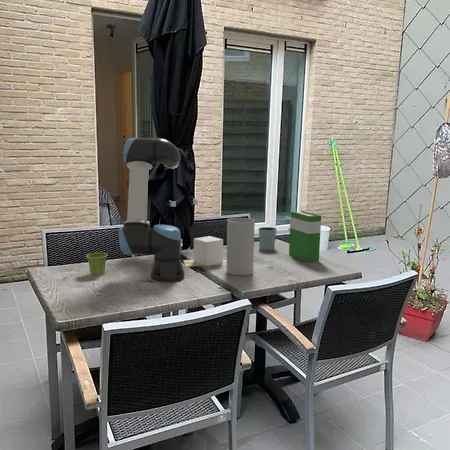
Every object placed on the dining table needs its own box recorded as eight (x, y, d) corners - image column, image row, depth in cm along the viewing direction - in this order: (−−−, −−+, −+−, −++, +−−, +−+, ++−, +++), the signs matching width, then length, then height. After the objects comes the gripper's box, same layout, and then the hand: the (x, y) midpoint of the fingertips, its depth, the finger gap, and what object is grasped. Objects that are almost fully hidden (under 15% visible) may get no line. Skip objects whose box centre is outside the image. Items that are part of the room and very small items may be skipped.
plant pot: (102, 277, 202) (101, 258, 200) (83, 275, 203) (82, 256, 202) (111, 271, 211) (111, 253, 209) (93, 270, 212) (92, 252, 211)
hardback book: (289, 254, 248) (290, 211, 244) (300, 253, 251) (302, 210, 247) (306, 262, 233) (309, 216, 228) (318, 261, 235) (321, 215, 231)
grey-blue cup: (257, 250, 258) (257, 229, 256) (258, 246, 268) (259, 226, 265) (275, 251, 256) (275, 230, 254) (276, 247, 266) (276, 227, 264)
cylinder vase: (221, 272, 212) (221, 219, 207) (238, 267, 221) (239, 216, 216) (241, 278, 203) (242, 223, 199) (258, 272, 212) (260, 220, 208)
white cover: (222, 262, 227) (223, 239, 225) (206, 266, 220) (207, 242, 218) (209, 258, 234) (209, 236, 232) (193, 261, 227) (193, 238, 225)
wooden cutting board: (234, 266, 223) (234, 264, 223) (186, 267, 218) (186, 266, 218) (229, 259, 236) (229, 258, 236) (183, 261, 231) (183, 260, 231)
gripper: (181, 204, 250) (205, 208, 235) (142, 207, 234) (165, 212, 218) (181, 190, 249) (205, 194, 233) (142, 193, 233) (165, 197, 217)
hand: (186, 203), depth 226 cm, fingers open, 13 cm apart
